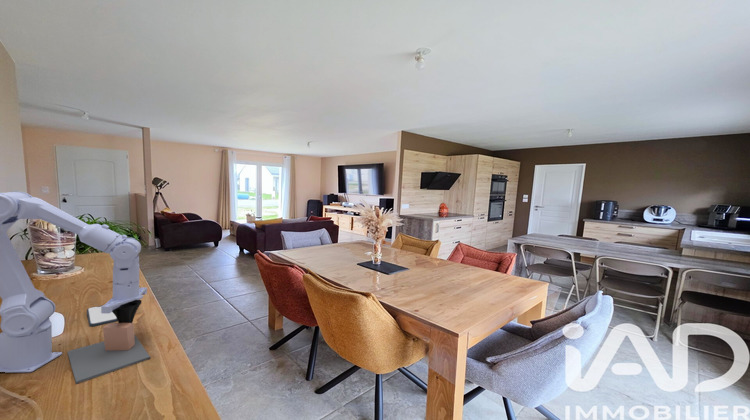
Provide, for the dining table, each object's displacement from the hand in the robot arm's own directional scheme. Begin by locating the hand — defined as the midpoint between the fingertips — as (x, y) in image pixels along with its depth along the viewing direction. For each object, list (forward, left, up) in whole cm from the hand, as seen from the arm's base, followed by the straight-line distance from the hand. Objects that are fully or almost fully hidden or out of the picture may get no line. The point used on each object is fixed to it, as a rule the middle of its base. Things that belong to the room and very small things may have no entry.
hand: (125, 327), depth 81 cm
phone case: (-20, +20, -7) cm, 30 cm away
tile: (0, -2, -5) cm, 5 cm away
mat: (-1, -5, -6) cm, 8 cm away
